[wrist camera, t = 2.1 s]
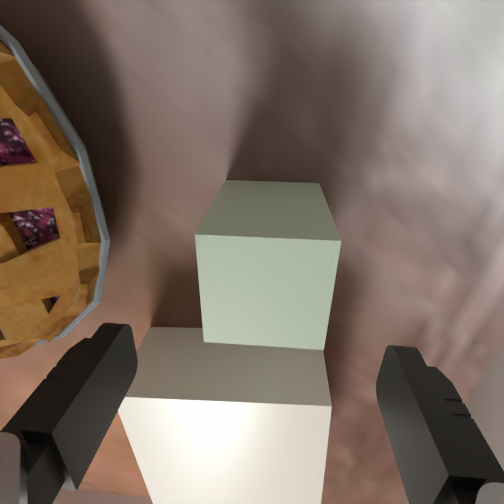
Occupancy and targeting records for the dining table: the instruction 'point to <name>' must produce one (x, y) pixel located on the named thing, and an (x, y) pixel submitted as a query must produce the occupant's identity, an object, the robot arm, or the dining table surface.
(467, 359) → the dining table surface
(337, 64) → the dining table surface
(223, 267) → the sage block
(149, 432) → the base box
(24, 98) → the pie
